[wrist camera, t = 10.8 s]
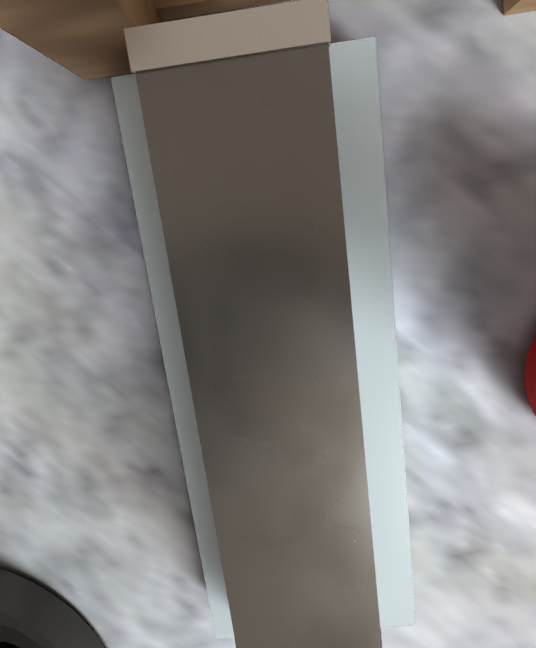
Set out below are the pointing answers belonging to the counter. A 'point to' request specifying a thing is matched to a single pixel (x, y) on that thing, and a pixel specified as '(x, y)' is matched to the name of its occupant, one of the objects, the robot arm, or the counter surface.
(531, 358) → the beverage can
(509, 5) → the rack
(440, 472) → the counter surface
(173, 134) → the rail
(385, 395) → the board
